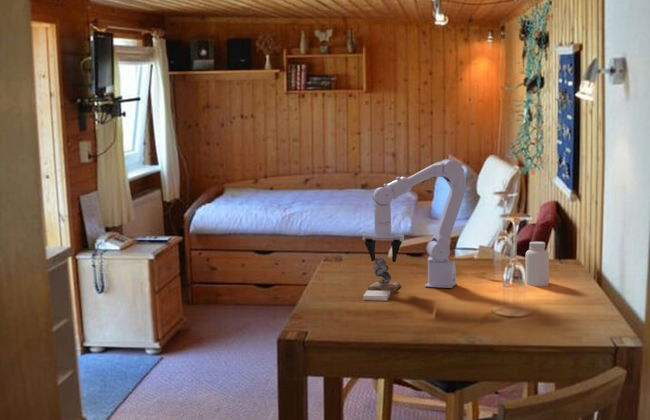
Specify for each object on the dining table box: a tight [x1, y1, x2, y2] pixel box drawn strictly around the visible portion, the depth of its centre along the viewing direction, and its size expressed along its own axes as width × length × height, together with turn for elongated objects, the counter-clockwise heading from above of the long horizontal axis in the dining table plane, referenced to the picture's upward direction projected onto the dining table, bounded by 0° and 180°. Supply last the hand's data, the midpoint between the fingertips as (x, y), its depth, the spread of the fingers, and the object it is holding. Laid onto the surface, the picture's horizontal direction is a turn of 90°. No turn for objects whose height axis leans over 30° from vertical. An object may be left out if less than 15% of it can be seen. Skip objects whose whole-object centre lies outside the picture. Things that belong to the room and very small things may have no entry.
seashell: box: [372, 256, 392, 284], centre depth 276 cm, size 5×5×10 cm
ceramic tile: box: [362, 289, 391, 302], centre depth 266 cm, size 8×8×2 cm
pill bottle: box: [525, 241, 550, 287], centre depth 277 cm, size 8×8×15 cm
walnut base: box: [367, 281, 401, 294], centre depth 276 cm, size 9×9×2 cm
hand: (383, 261), depth 275 cm, fingers open, 7 cm apart
